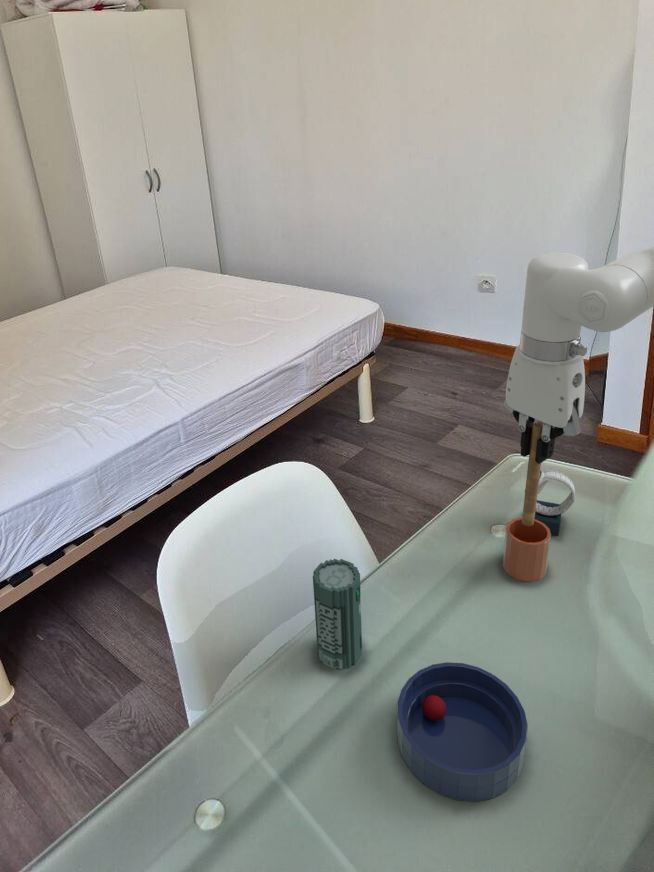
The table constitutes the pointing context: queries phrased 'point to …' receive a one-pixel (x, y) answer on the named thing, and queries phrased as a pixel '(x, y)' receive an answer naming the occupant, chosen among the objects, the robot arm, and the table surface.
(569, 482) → the watch
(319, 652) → the can
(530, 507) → the stick
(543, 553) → the crock
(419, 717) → the bowl
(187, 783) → the table surface
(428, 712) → the ball
